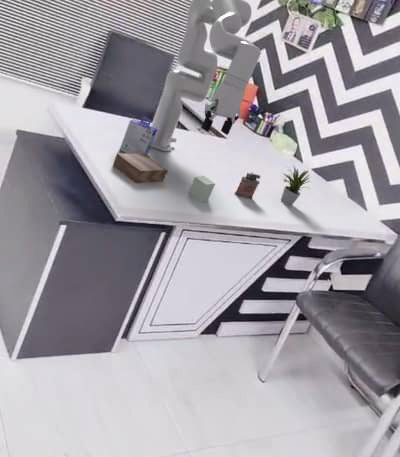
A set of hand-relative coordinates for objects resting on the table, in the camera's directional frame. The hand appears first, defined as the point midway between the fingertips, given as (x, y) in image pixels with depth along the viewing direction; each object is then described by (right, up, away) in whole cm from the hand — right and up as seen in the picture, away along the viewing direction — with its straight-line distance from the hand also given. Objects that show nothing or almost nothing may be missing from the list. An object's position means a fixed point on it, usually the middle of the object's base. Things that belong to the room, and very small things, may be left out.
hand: (214, 131), depth 173 cm
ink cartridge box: (-30, -4, +24) cm, 39 cm away
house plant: (+31, -21, +47) cm, 60 cm away
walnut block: (-26, -13, +9) cm, 31 cm away
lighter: (+12, -20, +32) cm, 39 cm away
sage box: (-6, -21, +12) cm, 25 cm away
